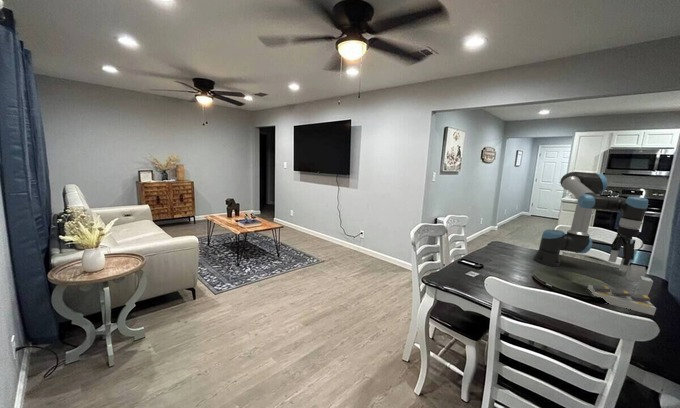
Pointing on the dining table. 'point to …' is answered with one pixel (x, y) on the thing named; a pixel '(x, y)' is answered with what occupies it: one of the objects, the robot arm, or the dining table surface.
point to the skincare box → (643, 286)
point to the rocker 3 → (640, 297)
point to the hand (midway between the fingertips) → (616, 266)
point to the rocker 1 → (601, 288)
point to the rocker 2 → (620, 292)
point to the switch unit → (624, 301)
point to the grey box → (635, 273)
